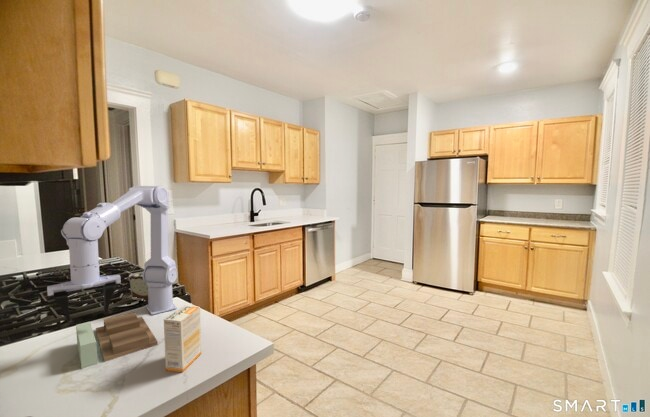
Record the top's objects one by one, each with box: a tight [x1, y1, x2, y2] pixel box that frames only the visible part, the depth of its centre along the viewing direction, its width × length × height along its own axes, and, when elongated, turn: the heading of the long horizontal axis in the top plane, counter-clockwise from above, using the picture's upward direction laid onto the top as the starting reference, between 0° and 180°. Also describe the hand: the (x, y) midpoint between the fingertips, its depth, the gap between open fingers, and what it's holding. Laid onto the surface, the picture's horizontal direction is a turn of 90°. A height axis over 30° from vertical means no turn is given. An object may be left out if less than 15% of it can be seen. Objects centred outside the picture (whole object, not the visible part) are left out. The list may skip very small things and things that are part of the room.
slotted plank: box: [95, 312, 158, 362], centre depth 86 cm, size 20×12×3 cm, turn 42°
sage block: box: [75, 321, 98, 370], centre depth 78 cm, size 14×3×6 cm, turn 43°
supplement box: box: [163, 305, 202, 373], centre depth 75 cm, size 8×5×13 cm, turn 171°
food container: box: [127, 271, 149, 301], centre depth 114 cm, size 12×6×10 cm, turn 84°
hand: (87, 315), depth 77 cm, fingers open, 7 cm apart
